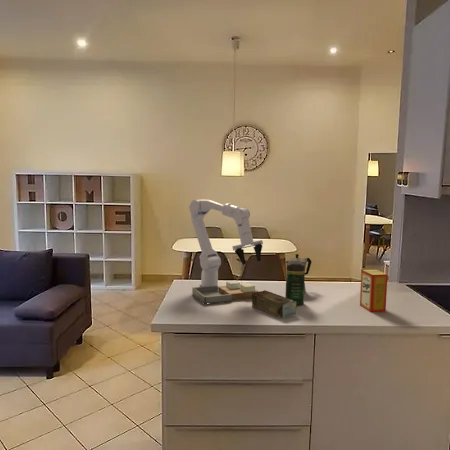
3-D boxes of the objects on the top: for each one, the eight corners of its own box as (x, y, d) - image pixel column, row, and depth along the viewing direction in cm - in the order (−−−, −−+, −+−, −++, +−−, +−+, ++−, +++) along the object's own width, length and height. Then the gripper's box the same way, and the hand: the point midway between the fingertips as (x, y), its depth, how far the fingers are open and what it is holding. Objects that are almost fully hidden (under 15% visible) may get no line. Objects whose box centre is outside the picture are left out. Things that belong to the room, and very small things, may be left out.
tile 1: (226, 286, 199) (226, 281, 198) (235, 285, 200) (236, 280, 200) (230, 289, 194) (230, 283, 194) (240, 288, 196) (240, 282, 196)
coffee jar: (304, 306, 178) (306, 263, 176) (285, 306, 179) (286, 263, 177) (302, 300, 188) (303, 259, 186) (284, 299, 188) (285, 258, 186)
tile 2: (240, 289, 193) (240, 284, 193) (250, 288, 195) (250, 283, 195) (245, 292, 189) (245, 286, 188) (255, 291, 190) (255, 285, 190)
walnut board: (218, 292, 198) (218, 286, 198) (245, 290, 204) (245, 284, 203) (230, 300, 186) (230, 294, 185) (258, 297, 191) (258, 291, 191)
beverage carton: (282, 319, 162) (282, 302, 162) (250, 307, 178) (250, 291, 177) (296, 315, 167) (297, 299, 166) (264, 303, 183) (265, 289, 182)
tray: (192, 294, 195) (192, 287, 195) (217, 292, 200) (217, 285, 200) (204, 304, 180) (204, 297, 179) (231, 301, 184) (231, 294, 184)
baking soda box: (385, 311, 173) (387, 273, 171) (370, 312, 172) (372, 274, 170) (373, 304, 182) (375, 268, 180) (359, 305, 181) (361, 269, 179)
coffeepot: (290, 294, 197) (292, 256, 195) (279, 289, 205) (280, 253, 203) (316, 290, 204) (317, 254, 202) (304, 286, 212) (305, 251, 210)
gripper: (234, 235, 186) (240, 265, 185) (263, 229, 192) (269, 259, 191) (228, 237, 193) (234, 266, 192) (256, 231, 198) (262, 260, 197)
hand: (251, 262), depth 192 cm, fingers open, 7 cm apart
